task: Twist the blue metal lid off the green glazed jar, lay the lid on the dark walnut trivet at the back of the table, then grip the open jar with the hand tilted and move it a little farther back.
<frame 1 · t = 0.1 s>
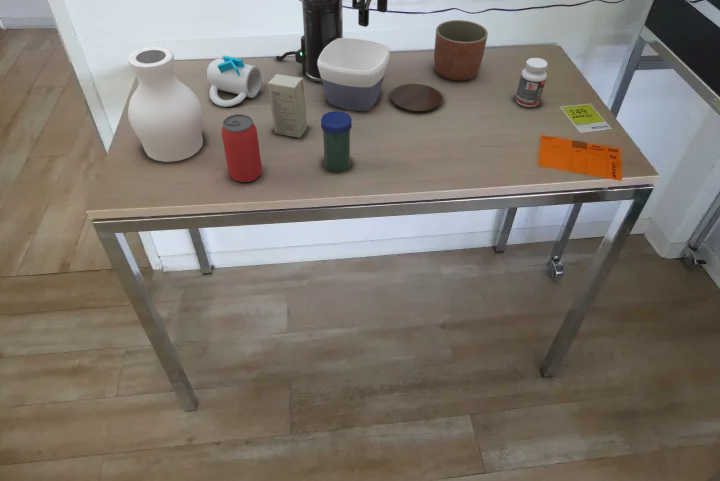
hand: (372, 18, 124), 17 cm above the table, tool pointing down, fingers open, 8 cm apart
vase: (174, 145, 119), on the table
jar: (337, 164, 115), on the table
mug: (229, 95, 133), on the table
planter: (455, 73, 143), on the table
bowl: (353, 98, 133), on the table
beer can: (246, 174, 112), on the table
pill bottle: (526, 102, 133), on the table
trivet: (416, 99, 133), on the table
cosmetic box: (290, 131, 123), on the table
lid: (336, 121, 108), point 10 cm above the table, screwed on, not yet turned
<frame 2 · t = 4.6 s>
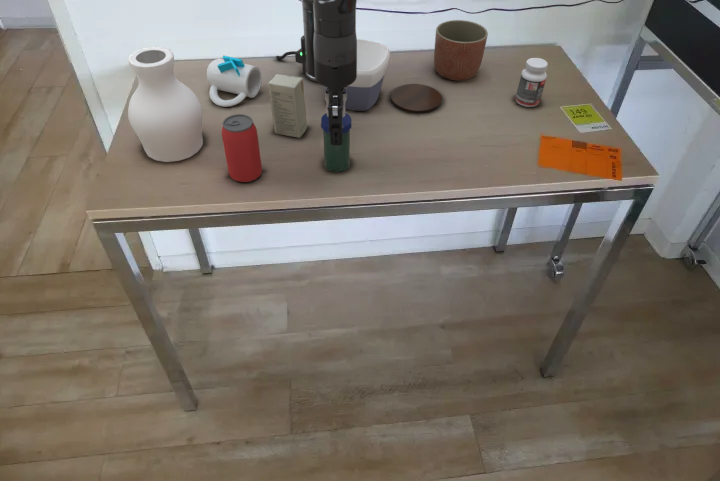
hand: (336, 134, 110), 7 cm above the table, tool pointing down, fingers closed on lid, 6 cm apart
lid: (336, 121, 108), point 10 cm above the table, screwed on, not yet turned, touching gripper
everything else where it was.
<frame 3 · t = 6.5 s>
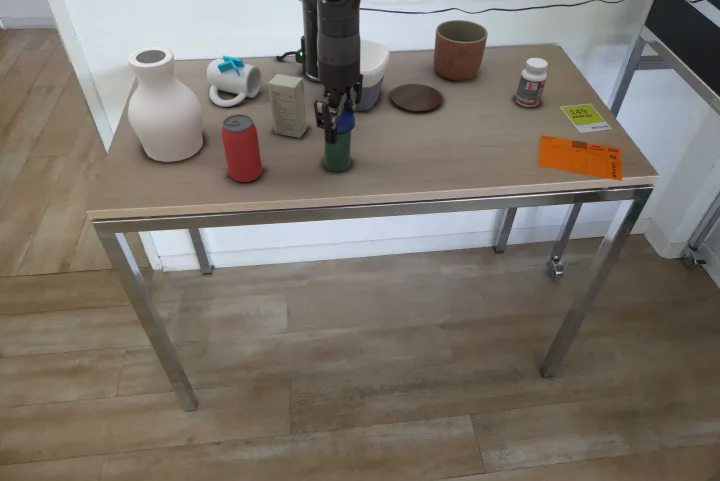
hand: (339, 134, 110), 7 cm above the table, tool pointing down, fingers closed on lid, 6 cm apart
jar: (337, 163, 115), on the table, touching lid
lid: (339, 119, 107), point 11 cm above the table, off its thread, touching gripper, jar
everything else where it was.
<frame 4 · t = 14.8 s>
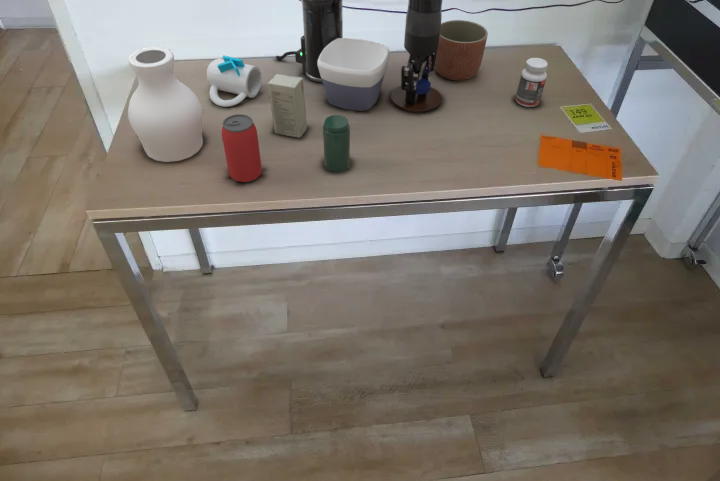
hand: (416, 97, 132), 1 cm above the table, tool pointing down, fingers closed on lid, 6 cm apart
jar: (337, 164, 115), on the table
lid: (418, 84, 130), point 4 cm above the table, off its thread, touching gripper
everything else where it was.
when the fingers open (1 cm above the table, at t = 20.7 s): lid drops 3 cm, resting on trivet.
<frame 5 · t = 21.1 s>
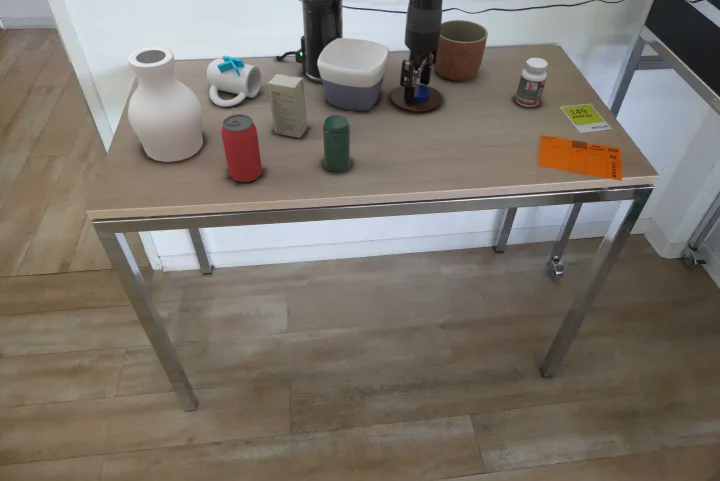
hand: (416, 91, 132), 2 cm above the table, tool pointing down, fingers open, 8 cm apart
lid: (417, 92, 132), point 2 cm above the table, off its thread, touching trivet
everything else where it was.
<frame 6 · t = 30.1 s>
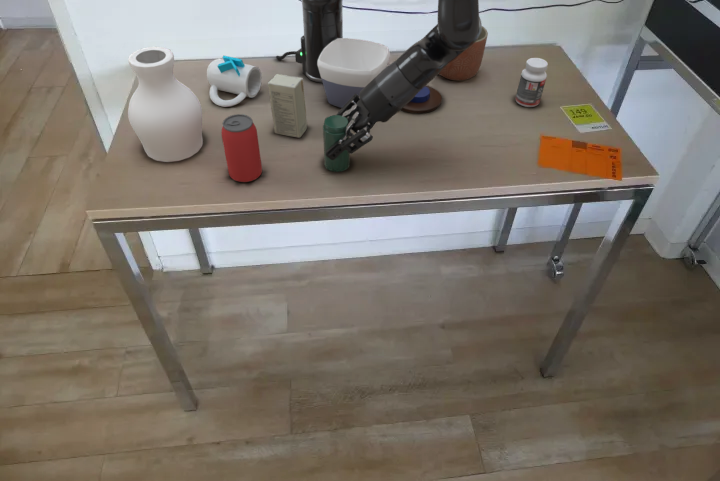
hand: (327, 147, 112), 4 cm above the table, tool tilted 45°, fingers closed on jar, 5 cm apart
jar: (337, 164, 115), on the table, touching gripper
everything else where it was.
when the fingers open (4 cm above the table, at t = 38.3 s): jar stays where it is, on the table.
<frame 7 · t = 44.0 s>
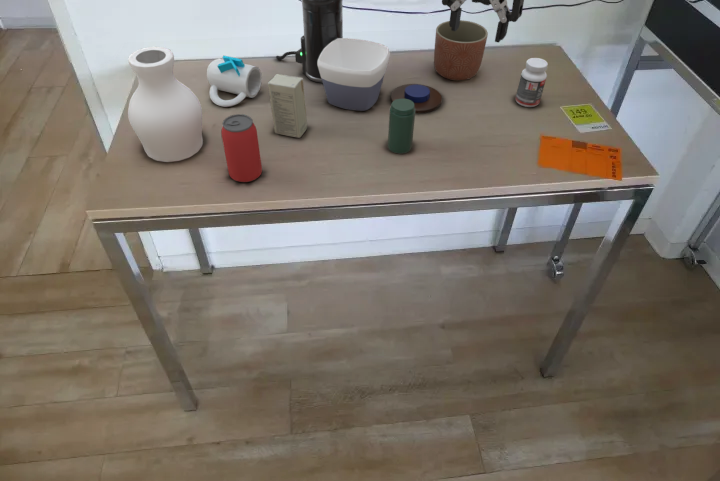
hand: (476, 35, 104), 24 cm above the table, tool pointing down, fingers open, 8 cm apart
jar: (399, 146, 120), on the table
everything else where it was.
at the end: lid came off its thread; lid inside the target area on the trivet (0.2 cm from its centre), point 1.9 cm above the trivet's base; jar inside the target area (0.3 cm from its centre), on the table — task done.
